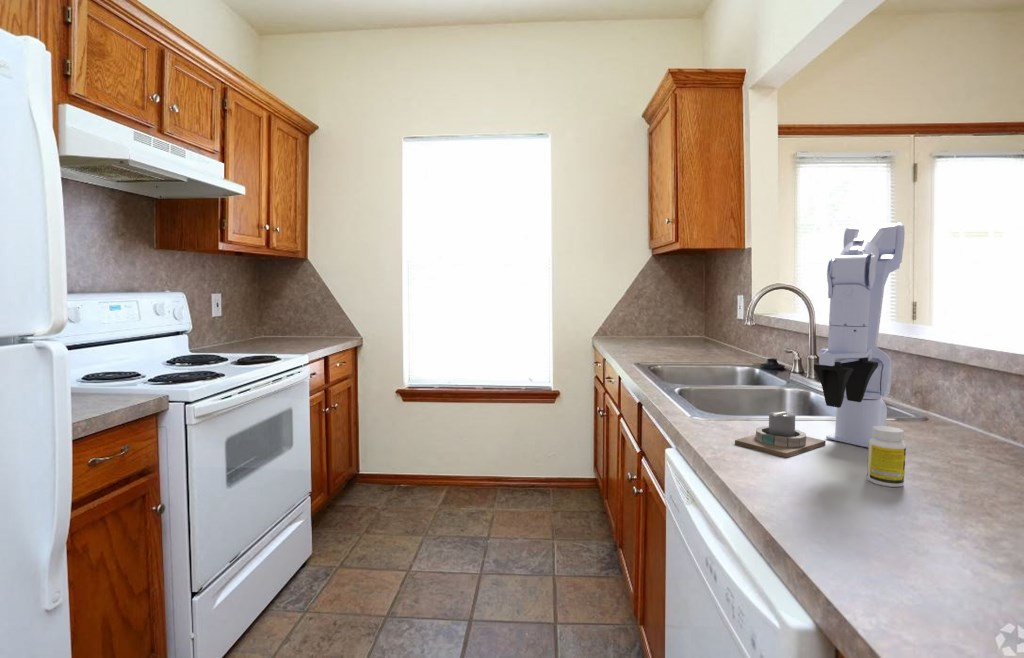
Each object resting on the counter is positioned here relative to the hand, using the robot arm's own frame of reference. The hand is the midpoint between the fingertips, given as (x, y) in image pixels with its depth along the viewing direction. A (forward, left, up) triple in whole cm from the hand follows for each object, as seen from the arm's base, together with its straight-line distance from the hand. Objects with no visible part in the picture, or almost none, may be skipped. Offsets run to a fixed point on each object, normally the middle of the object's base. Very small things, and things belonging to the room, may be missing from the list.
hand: (844, 403), depth 93 cm
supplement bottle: (+6, +9, -10) cm, 15 cm away
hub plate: (0, -11, -10) cm, 15 cm away
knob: (0, -11, -9) cm, 14 cm away
